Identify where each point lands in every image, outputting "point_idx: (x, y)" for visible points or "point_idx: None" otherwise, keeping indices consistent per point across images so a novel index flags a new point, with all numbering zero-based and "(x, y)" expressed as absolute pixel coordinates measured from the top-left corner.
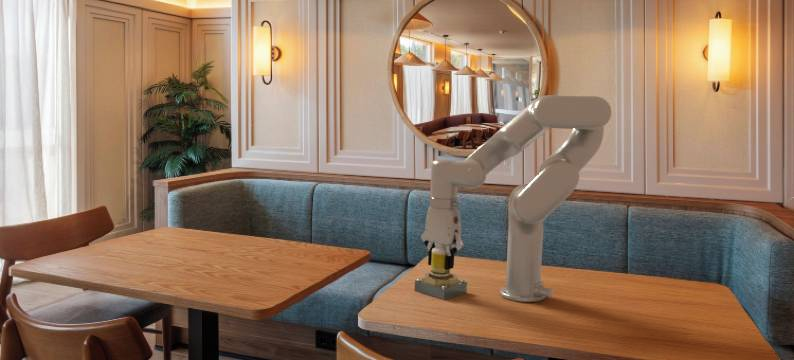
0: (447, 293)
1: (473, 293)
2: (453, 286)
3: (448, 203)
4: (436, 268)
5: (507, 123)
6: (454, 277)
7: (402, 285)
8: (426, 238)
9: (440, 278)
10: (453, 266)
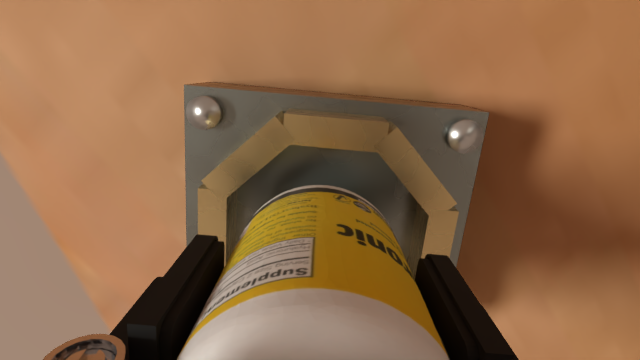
0: None
1: (506, 90)
2: (456, 263)
3: None
4: None
5: None
6: (432, 211)
7: (89, 249)
8: None
9: (278, 169)
10: (448, 257)
